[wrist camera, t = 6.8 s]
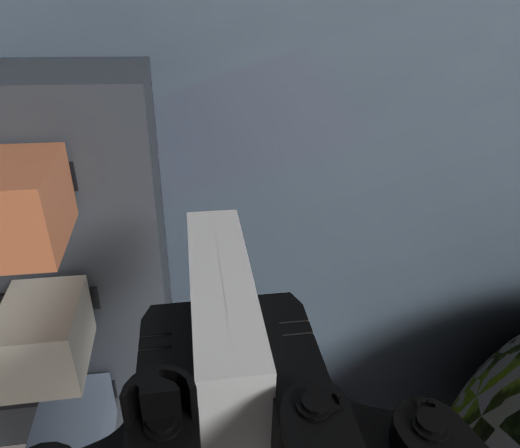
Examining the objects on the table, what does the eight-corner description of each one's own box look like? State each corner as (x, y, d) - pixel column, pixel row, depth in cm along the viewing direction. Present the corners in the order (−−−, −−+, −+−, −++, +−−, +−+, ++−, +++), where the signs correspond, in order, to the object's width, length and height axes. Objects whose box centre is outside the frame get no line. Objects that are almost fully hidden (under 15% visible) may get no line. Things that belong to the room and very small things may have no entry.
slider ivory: (11, 279, 20) (-23, 348, 16) (86, 274, 20) (68, 340, 17) (28, 333, 21) (-1, 406, 18) (96, 327, 22) (82, 397, 18)
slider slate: (45, 378, 23) (23, 454, 19) (109, 372, 23) (98, 445, 20) (57, 419, 24) (38, 496, 21) (117, 412, 25) (108, 486, 21)
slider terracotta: (-24, 144, 17) (-74, 194, 13) (64, 141, 17) (37, 189, 14) (-2, 217, 18) (-42, 279, 15) (78, 213, 19) (57, 271, 15)
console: (-245, 59, 19) (-370, 91, 15) (149, 56, 21) (142, 84, 17) (-83, 385, 28) (-130, 464, 24) (176, 359, 31) (177, 426, 26)
